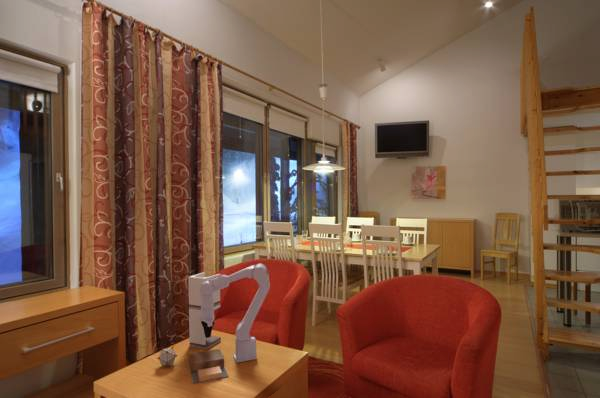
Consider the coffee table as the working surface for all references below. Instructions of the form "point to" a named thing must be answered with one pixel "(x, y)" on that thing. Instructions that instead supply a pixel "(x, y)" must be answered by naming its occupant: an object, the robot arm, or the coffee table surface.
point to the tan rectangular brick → (209, 373)
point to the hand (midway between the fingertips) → (207, 337)
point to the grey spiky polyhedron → (167, 357)
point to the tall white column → (195, 325)
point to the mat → (196, 379)
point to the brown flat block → (205, 360)
